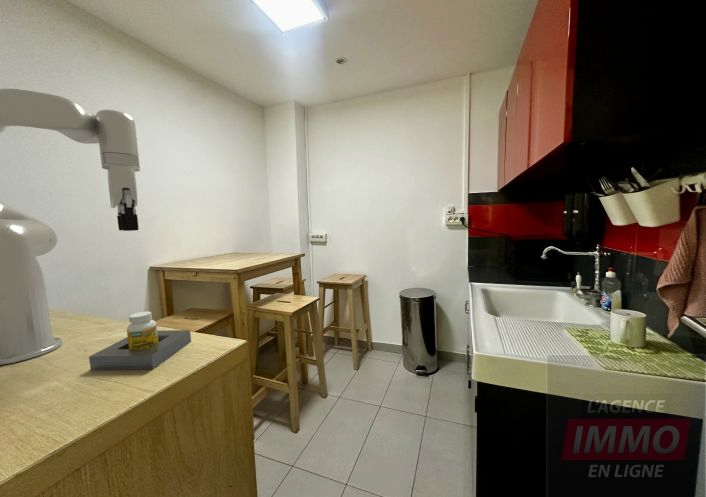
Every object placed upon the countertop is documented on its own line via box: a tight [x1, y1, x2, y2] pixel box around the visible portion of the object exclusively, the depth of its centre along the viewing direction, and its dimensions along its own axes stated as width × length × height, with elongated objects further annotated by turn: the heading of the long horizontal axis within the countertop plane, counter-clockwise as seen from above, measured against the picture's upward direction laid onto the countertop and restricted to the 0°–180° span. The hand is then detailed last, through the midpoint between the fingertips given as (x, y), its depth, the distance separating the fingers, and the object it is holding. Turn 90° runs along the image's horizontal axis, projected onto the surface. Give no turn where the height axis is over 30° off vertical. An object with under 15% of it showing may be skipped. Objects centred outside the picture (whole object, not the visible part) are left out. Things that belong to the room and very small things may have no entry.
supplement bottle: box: [126, 311, 159, 349], centre depth 62 cm, size 5×5×10 cm
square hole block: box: [88, 329, 192, 372], centre depth 63 cm, size 13×13×3 cm
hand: (128, 230), depth 72 cm, fingers open, 9 cm apart
